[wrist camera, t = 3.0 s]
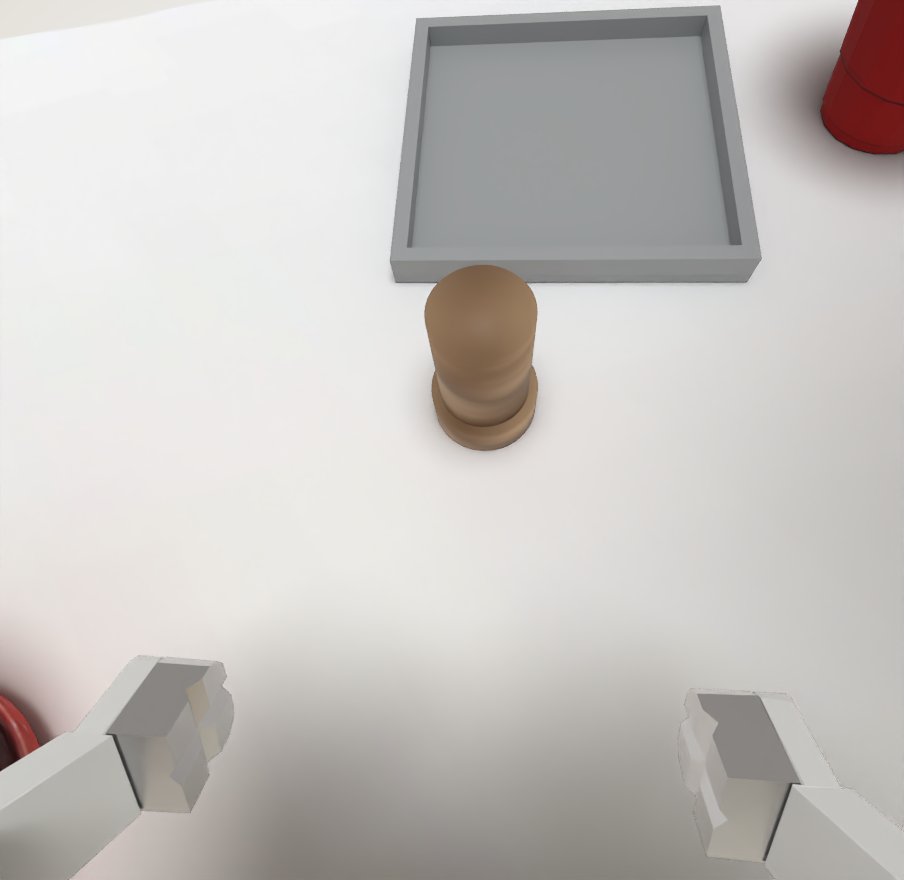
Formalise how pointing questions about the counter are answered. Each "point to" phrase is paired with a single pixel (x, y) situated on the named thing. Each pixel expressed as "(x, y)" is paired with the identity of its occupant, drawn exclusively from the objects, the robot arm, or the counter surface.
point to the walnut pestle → (483, 355)
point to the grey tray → (574, 150)
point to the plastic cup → (869, 80)
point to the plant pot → (14, 735)
